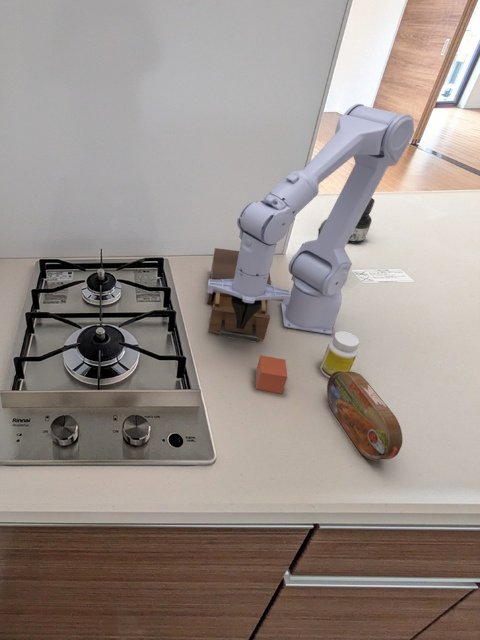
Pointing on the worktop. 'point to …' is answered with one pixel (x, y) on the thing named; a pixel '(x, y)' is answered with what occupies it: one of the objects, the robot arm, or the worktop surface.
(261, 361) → the block
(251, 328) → the drawer
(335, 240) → the robot arm
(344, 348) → the supplement bottle
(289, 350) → the worktop surface
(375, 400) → the tin
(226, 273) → the cabinet
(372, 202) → the ink bottle
